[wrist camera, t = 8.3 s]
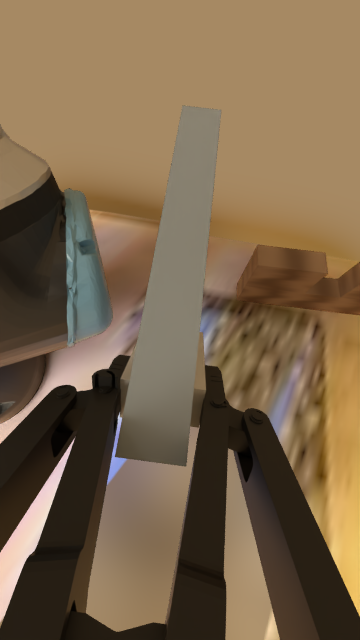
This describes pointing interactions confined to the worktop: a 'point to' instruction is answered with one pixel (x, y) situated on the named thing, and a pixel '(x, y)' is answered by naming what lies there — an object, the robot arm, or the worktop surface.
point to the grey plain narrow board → (173, 302)
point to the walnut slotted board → (298, 281)
